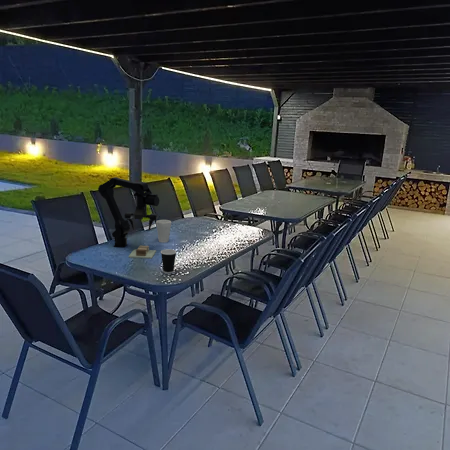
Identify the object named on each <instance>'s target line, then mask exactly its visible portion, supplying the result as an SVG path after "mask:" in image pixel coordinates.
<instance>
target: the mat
mask: <svg viewBox="0 0 450 450" xmlns="http://www.w3.org/2000/svg"><path fill="white" fill-rule="evenodd" d="M137 249H138V248H137ZM137 249H133V250H132V251H131V253H130V254H129V255H128V258H130V259H151V260H152V259H153V258H154V256H155V254H156V253H157V250H156V249H149V251H148V253H147V254H146V256H136V250H137Z"/></svg>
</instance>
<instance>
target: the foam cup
mask: <svg viewBox="0 0 450 450" xmlns="http://www.w3.org/2000/svg"><path fill="white" fill-rule="evenodd" d="M155 221H156V222H155V224H156V231H157V238H158V243H163V244H164V243H165V244H166V243H168V242H169V241H170V234H171V227H172V221H171V220H170V219H169V220H168V219H159V220H158V219H157V220H155Z"/></svg>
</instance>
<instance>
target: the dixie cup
mask: <svg viewBox="0 0 450 450" xmlns="http://www.w3.org/2000/svg"><path fill="white" fill-rule="evenodd" d="M160 254H161V255H160V256H161V263H162V270H163V274H166V275H170V274H173V273H174V271H175V263H176V255H177V251H176V250H175V249H166V248H165V249H161V250H160Z"/></svg>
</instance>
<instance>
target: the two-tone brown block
mask: <svg viewBox="0 0 450 450" xmlns="http://www.w3.org/2000/svg"><path fill="white" fill-rule="evenodd" d="M149 250H150V246H149V245H139V246H138V248H137V250H136V256H146V254H147V253H148V251H149Z"/></svg>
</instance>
